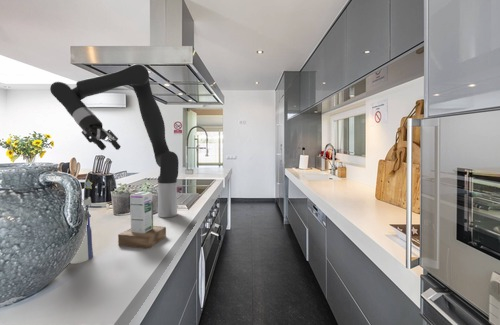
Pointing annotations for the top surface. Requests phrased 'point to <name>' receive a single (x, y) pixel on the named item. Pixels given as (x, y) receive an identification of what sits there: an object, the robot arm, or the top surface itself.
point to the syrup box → (141, 212)
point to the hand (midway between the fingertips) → (111, 148)
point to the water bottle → (86, 247)
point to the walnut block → (142, 237)
